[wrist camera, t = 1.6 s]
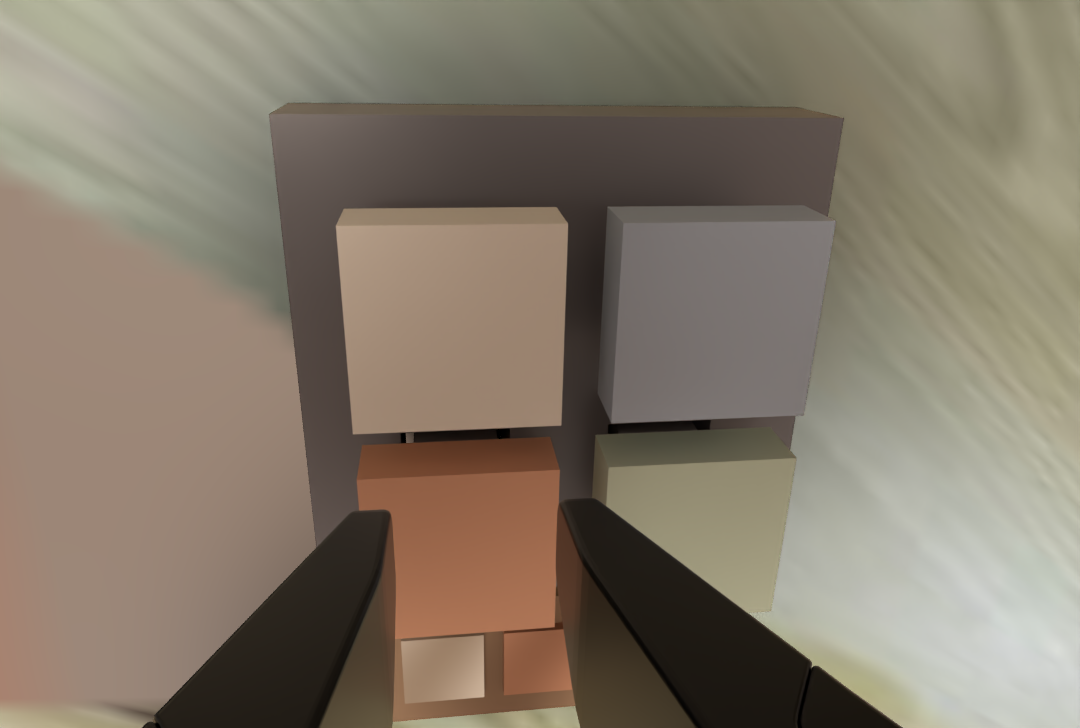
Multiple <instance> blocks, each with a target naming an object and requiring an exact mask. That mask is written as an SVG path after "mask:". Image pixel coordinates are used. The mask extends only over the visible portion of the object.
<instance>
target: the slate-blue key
mask: <svg viewBox="0 0 1080 728" xmlns="http://www.w3.org/2000/svg"><path fill="white" fill-rule="evenodd" d="M835 225H836V221H835V220H833V219H831V218H829V217H827V216H825V215H823V214H821V213H819V212H817V211H814V210H812V209H810V208H808V207H806V206H804V205H757V206H624V207H607V225H606V244H605V263H604V282H603V301H602V319H601V338H600V357H599V376H598V395H599V398H600V400H601V402H602V404H603V406H604V408H605V411H606V413H607V415H608V417H609V419H610V422H611V423H634V422H657V421H681V420H704V419H728V418H751V417H775V416H798V415H804V410H805V404H806V398H807V392H808V386H809V380H810V374H811V368H812V362H813V356H814V350H815V344H816V338H817V332H818V326H819V320H820V314H821V308H822V302H823V296H824V290H825V285H826V279H827V273H828V267H829V261H830V255H831V249H832V243H833V237H834V231H835Z"/></svg>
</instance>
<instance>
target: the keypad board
mask: <svg viewBox="0 0 1080 728" xmlns="http://www.w3.org/2000/svg"><path fill="white" fill-rule="evenodd" d="M269 118H270V127H271V137H272V146H273V155H274V164H275V173H276V182H277V191H278V201H279V210H280V219H281V228H282V237H283V246H284V255H285V265H286V274H287V283H288V292H289V301H290V310H291V319H292V329H293V338H294V347H295V356H296V365H297V374H298V383H299V393H300V402H301V411H302V420H303V429H304V438H305V447H306V457H307V465H308V475H309V484H310V493H311V502H312V512H313V520H314V530H315V539H316V548H317V547H318V546H319V544H320V543H321V542H322V541H323V540H324V539H325V538H326V537H327V536H328V535H329V534H330V533H331V532H332V531H333V530H334V529H335V528H336V527H337V526H338V525H339V524H340V523H341V522H342V521H343V520H344V519H345V518H346V517H347V516H348V515H349V514H350V513H351V512H353V511H359V502H358V490H357V475H358V468H359V462H360V456H361V449H362V445H376V444H399V443H406V433H412V432H398V433H374V434H353V429H352V417H351V405H350V393H349V380H348V368H347V356H346V344H345V332H344V320H343V307H342V295H341V283H340V271H339V259H338V246H337V234H336V225H337V222H338V220H339V218H340V216H341V214H342V212H343V209H359V208H492V207H557V208H558V210H559V211H560V213H561V214H562V216H563V217H564V218H565V220H566V221H567V223H568V242H567V272H566V302H565V331H564V361H563V391H562V420H561V426H539V427H516V428H492V429H502V439H512V438H535V437H550V438H551V442H552V445H553V448H554V452H555V455H556V459H557V462H558V465H559V469H560V480H559V503H560V502H561V501H562V500H565V499H580V498H592V490H593V471H594V452H595V435H603V434H608V424H624V423H611V422H610V419H609V417H608V415H607V413H606V411H605V408H604V406H603V404H602V402H601V400H600V398H599V395H598V376H599V357H600V338H601V319H602V301H603V282H604V263H605V244H606V225H607V207H624V206H757V205H804V206H806V207H808V208H810V209H812V210H814V211H817V212H819V213H821V214H823V215H825V216H827V217H828V213H829V206H830V200H831V194H832V188H833V182H834V176H835V169H836V163H837V157H838V151H839V145H840V139H841V133H842V126H843V120H844V118H842V117H837V116H833V115H828V114H824V113H820V112H815V111H811V110H806V109H802V108H797V107H696V106H581V105H466V104H351V103H288V104H286V105H284V106H282V107H281V108H279V109H277V110H275V111H273V112H272V113H270V114H269ZM681 421H692V423H693V424H694V426H695V427H696V429H697V430H716V429H739V428H761V427H771V429H772V430H773V431H774V432H775V433H776V435H777V436H778V437H779V438H780V439H781V440H782V442H783V443H784V444H785V445H786V446H787V448H788V449H789V450H790V446H791V440H792V434H793V428H794V422H795V416H775V417H751V418H728V419H704V420H681ZM657 422H671V421H657ZM634 423H647V422H634ZM469 430H483V429H469ZM445 431H459V430H445ZM422 432H436V431H422ZM556 587H557V580H556Z"/></svg>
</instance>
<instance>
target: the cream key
mask: <svg viewBox="0 0 1080 728" xmlns="http://www.w3.org/2000/svg"><path fill="white" fill-rule="evenodd" d="M336 234H337V246H338V259H339V271H340V283H341V295H342V307H343V320H344V332H345V344H346V356H347V368H348V380H349V393H350V405H351V417H352V429H353V434H374V433H398V432H422V431H445V430H469V429H492V428H516V427H539V426H561V420H562V391H563V361H564V331H565V302H566V272H567V242H568V223H567V221H566V220H565V218H564V217H563V216H562V214H561V213H560V211H559V210H558V208H557V207H492V208H359V209H343V212H342V214H341V216H340V218H339V220H338V222H337V225H336Z"/></svg>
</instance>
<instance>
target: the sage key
mask: <svg viewBox="0 0 1080 728" xmlns="http://www.w3.org/2000/svg"><path fill="white" fill-rule="evenodd" d="M795 464H796V457H795V456H794V455H793V453H792V452H791V451H790V450H789V449H788V448H787V446H786V445H785V444H784V443H783V442H782V440H781V439H780V438H779V437H778V436H777V435H776V433H775V432H774V431H773V430H772V429H771V427H761V428H739V429H716V430H697V429H696V427H695V426H694V424H693V423H692V421H671V422H647V423H624V424H609V427H608V434H603V435H595V452H594V471H593V490H592V498H595V499H597V500H599V501H600V502H602V503H603V504H604V505H606V506H607V507H608V508H610V509H611V510H612V511H613V512H615V513H616V514H617V515H619V516H620V517H621V518H623V519H624V520H625V521H627V522H628V523H629V524H631V525H632V526H633V527H635V528H636V529H637V530H639V531H640V532H641V533H643V534H644V535H645V536H647V537H648V538H649V539H651V540H652V541H653V542H655V543H656V544H657V545H658V546H660V547H661V548H662V549H664V550H665V551H666V552H668V553H669V554H670V555H672V556H673V557H674V558H676V559H677V560H678V561H680V562H681V563H682V564H684V565H685V566H686V567H688V568H689V569H690V570H692V571H693V572H694V573H696V574H697V575H698V576H700V577H701V578H702V579H703V580H705V581H706V582H707V583H709V584H710V585H711V586H713V587H714V588H715V589H717V590H718V591H719V592H721V593H722V594H723V595H725V596H726V597H727V598H729V599H730V600H731V601H733V602H734V603H735V604H737V605H738V606H739V607H741V608H742V609H743V610H745V611H746V612H747V613H751V612H765V611H771V608H772V602H773V596H774V590H775V584H776V578H777V572H778V566H779V560H780V554H781V548H782V542H783V536H784V530H785V524H786V518H787V512H788V506H789V500H790V494H791V488H792V482H793V476H794V470H795Z"/></svg>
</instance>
